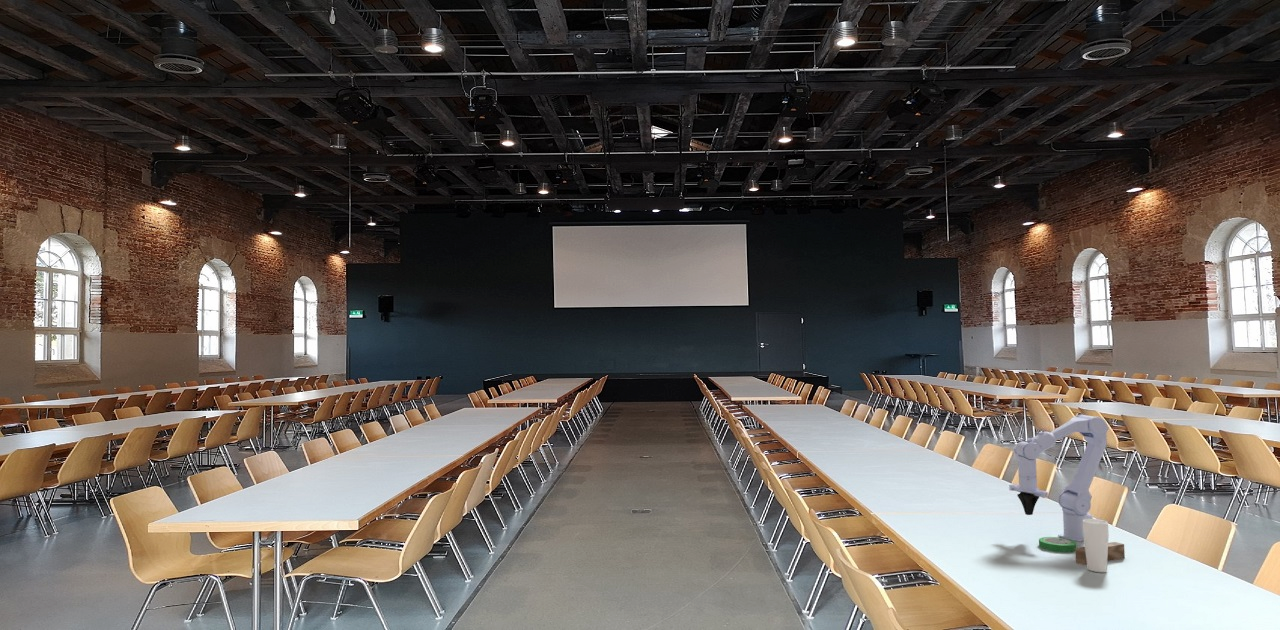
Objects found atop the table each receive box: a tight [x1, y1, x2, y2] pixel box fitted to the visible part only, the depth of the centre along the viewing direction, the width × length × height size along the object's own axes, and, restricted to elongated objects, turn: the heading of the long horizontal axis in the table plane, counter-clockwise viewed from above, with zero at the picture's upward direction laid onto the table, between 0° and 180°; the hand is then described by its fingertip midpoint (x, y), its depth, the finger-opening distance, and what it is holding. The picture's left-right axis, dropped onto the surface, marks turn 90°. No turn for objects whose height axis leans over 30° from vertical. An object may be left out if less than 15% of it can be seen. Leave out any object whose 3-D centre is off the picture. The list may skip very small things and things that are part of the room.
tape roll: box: [1038, 536, 1077, 554], centre depth 246 cm, size 11×11×3 cm
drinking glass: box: [1083, 518, 1110, 573], centre depth 223 cm, size 7×7×15 cm
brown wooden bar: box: [1074, 541, 1126, 566], centre depth 232 cm, size 18×3×4 cm, turn 110°
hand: (1028, 514), depth 257 cm, fingers closed
